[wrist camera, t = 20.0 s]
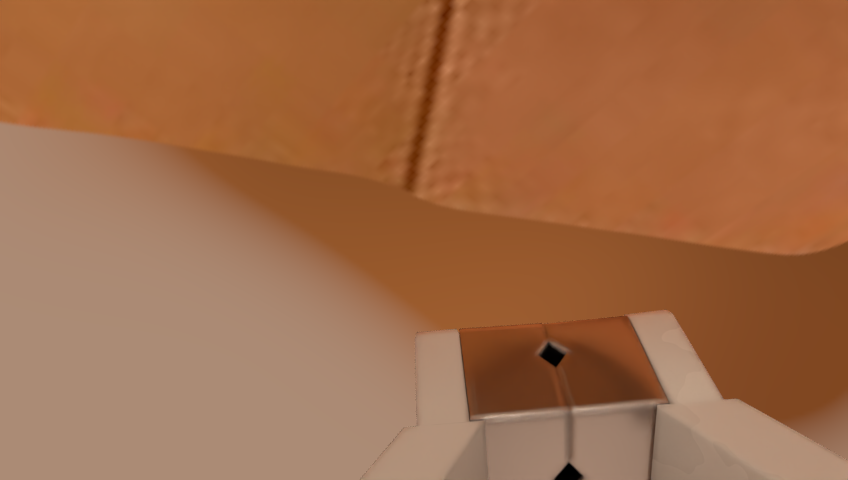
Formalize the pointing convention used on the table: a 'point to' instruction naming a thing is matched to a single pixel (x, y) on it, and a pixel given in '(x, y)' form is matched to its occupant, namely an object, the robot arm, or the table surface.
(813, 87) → the table surface
